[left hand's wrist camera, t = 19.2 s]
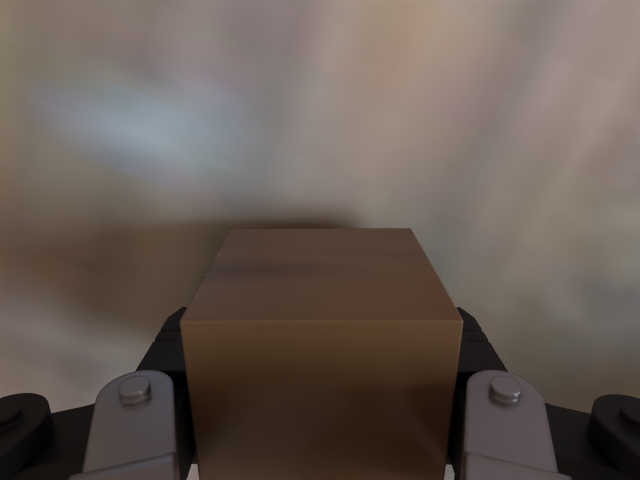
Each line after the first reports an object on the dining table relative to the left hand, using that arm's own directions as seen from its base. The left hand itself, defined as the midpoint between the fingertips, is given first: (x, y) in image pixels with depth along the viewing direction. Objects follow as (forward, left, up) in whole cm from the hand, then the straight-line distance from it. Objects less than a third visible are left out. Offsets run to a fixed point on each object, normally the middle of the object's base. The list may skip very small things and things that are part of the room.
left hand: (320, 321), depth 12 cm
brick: (0, 0, -1) cm, 1 cm away
